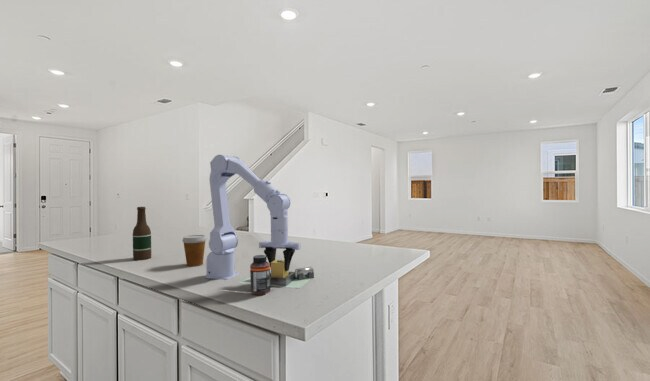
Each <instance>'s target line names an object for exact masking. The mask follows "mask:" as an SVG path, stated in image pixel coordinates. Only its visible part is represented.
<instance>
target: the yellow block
mask: <svg viewBox="0 0 650 381" xmlns="http://www.w3.org/2000/svg"><path fill="white" fill-rule="evenodd" d="M284 264H285V262H284V259H277V258H275V260H274V261H273V262H271V268H270V272H271V277H284V278H285V277H286V276H287V275H289V272H290V271H289V270H290V269H289V270H288V271H285V268H284Z"/></svg>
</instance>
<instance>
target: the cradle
mask: <svg viewBox="0 0 650 381" xmlns="http://www.w3.org/2000/svg"><path fill="white" fill-rule="evenodd" d="M295 279H296V272H295V271H289V275H287V276H286V277H285V278H284V277H271V273H270V285H279V286H287V285H289V284H290V283H291V282H292V281H294V280H295Z"/></svg>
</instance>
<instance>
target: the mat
mask: <svg viewBox="0 0 650 381" xmlns="http://www.w3.org/2000/svg"><path fill="white" fill-rule="evenodd" d="M270 273H271V271H270ZM315 276H316V274H314V277H315ZM310 280H312V278H310V279H309V278H307V277H306V276H304V279H303V280H298V279H295V280H294V281H292V282H291V283H290V284H289V285H287V286H279V285H270V287H278V288H279V287H280V288H291V289H292V288H293V289H300V288H302V287H303V286H305V285H306V284H307V283H308V282H309V281H310ZM238 284H243V285H251V277H250V276H249V277H247V278H245V279H243V280H241V281H239V282H238Z"/></svg>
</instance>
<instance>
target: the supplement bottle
mask: <svg viewBox="0 0 650 381" xmlns="http://www.w3.org/2000/svg"><path fill="white" fill-rule="evenodd" d="M249 268H250V270H249V273H250V274H249V275H250V276H249V277H251V284H250V293H251V294H252V295H255V296H262V295H263V296H264V295H267V294H268V293H270V292H271V286H270V272H271V268H270V264H269V261H268V259H267V257H266V255H265V254H257V255H254V256H253V258H252V263H250V266H249Z"/></svg>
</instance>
